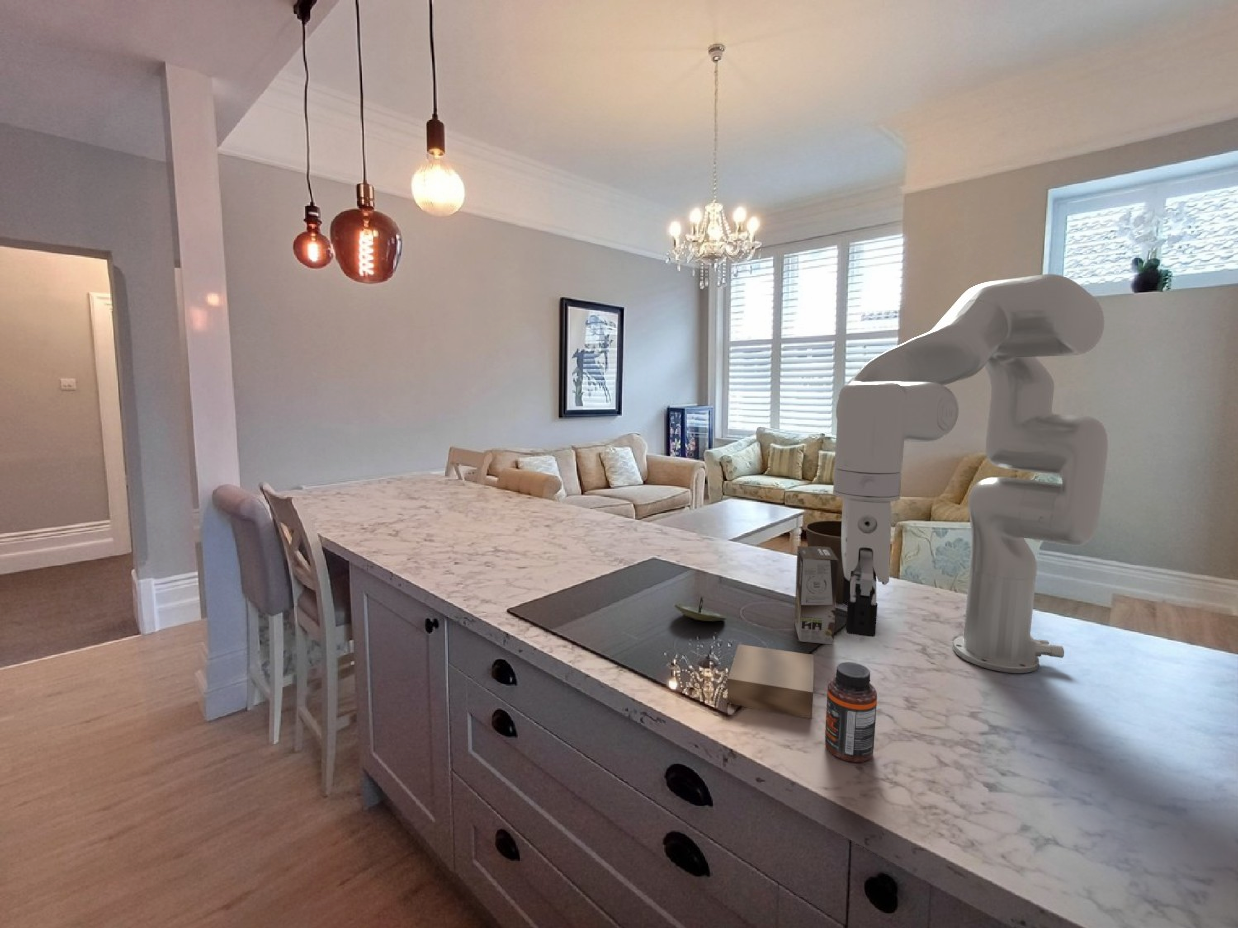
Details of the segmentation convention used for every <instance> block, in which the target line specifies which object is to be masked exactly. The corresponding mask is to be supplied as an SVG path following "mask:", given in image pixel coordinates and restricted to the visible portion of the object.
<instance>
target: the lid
mask: <svg viewBox="0 0 1238 928" xmlns="http://www.w3.org/2000/svg"><path fill="white" fill-rule="evenodd" d="M703 603H704V597H703V596H701V597H700V600H699V606H698V607H696V606H690V605H685V604H681V603H675V604H674V607H675V609H677V611H679V612H680V613H682V614H683V615H684V616H686V617H688V618H692V619H694V620H696V621H704V622H717V621H718V622H719V621H726V620H727V618H726V616H725V615H723V614H720V613H717V612H715V611H709V610H706V609H703V605H702V604H703Z"/></svg>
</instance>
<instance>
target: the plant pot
mask: <svg viewBox="0 0 1238 928" xmlns="http://www.w3.org/2000/svg"><path fill="white" fill-rule="evenodd" d="M841 527H842V520H818V521H813V522H810V523H807V524H806V525H805V535H806V542H807V547H809V546H817V547H830V548H831V550H832V551H833V553H834V554H835V556H836V557H837V559H838V573H837V590H836V604H839V605H840V604H842V605H844V604H843V603H842V597H843V581H844V571H843V564H842V552H841Z"/></svg>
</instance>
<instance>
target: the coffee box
mask: <svg viewBox="0 0 1238 928" xmlns="http://www.w3.org/2000/svg"><path fill="white" fill-rule="evenodd" d="M796 549H797V550H796V570H795V571H796V572H795V573H796V575H795V577H796V578H795V597H794V598H795V604H794V625H795V631H796V634H797V637H798V638H797V639H798V641H799V642H802V643H803V642H805V643H814V644H825V645H833V644H834V640H835V622H836V621H835V620H836V605H837V603H836V590H837V573H838V559H837V557H836V556H835V554H834V553H833V551H832V550H831V548H830V547H817V546H809V547H808V546H802V545H797V547H796Z"/></svg>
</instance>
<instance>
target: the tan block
mask: <svg viewBox="0 0 1238 928" xmlns="http://www.w3.org/2000/svg"><path fill="white" fill-rule="evenodd" d="M735 650H736V651H735V654H734V658H733V661H732V664H731V668H730V671H729V674H728V678H727V696H726V697H727V698H726V699H727V700H726V701H727V703H731V704H730V705H732V704H735V705H734V706H738V705H742V706H741V707H744V708H749V709H750V708H751V709H755V710H762V711H767V712H773V713H779V714H783V715H784V714H785V715H789V716H796V717H800V718H806V719H807V718H808V719H812V718H813V702H814V700H813V697H814V654H810V653H802V652H796V651H795V652H794V651H788V650H782V649H775V648H768V647H767V648H766V647H760V646H754V645H753V646H752V645H746V644H738V645H737V647H736V649H735ZM727 703H726V704H727Z"/></svg>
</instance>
